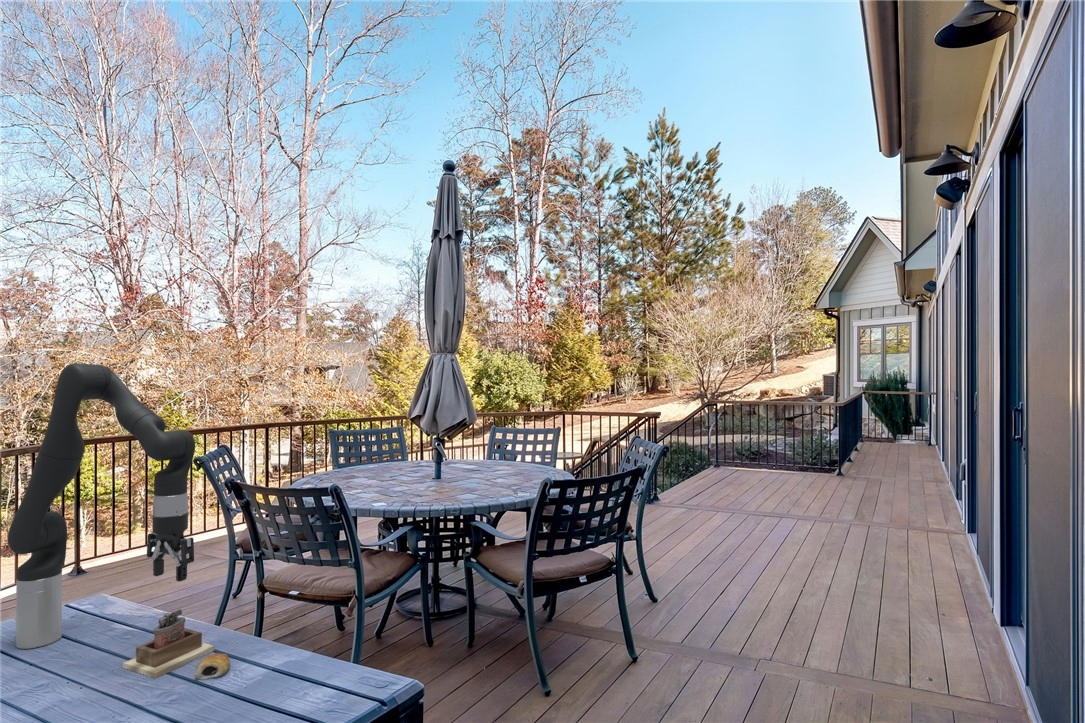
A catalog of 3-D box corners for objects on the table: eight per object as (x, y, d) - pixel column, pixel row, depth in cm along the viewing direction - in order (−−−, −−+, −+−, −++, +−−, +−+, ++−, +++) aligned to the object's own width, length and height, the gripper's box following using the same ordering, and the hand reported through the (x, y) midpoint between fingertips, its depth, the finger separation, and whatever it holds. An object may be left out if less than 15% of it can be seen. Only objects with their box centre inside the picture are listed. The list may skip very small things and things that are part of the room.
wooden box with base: (122, 667, 144) (122, 648, 144) (182, 641, 158) (182, 623, 158) (155, 678, 139) (155, 657, 139) (214, 650, 153) (214, 631, 153)
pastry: (204, 663, 147) (204, 647, 147) (234, 659, 149) (234, 644, 149) (193, 682, 138) (193, 665, 138) (225, 678, 139) (226, 661, 140)
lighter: (160, 662, 144) (160, 620, 144) (149, 661, 145) (149, 619, 145) (188, 647, 152) (189, 607, 152) (178, 646, 153) (178, 606, 153)
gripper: (136, 512, 148) (135, 578, 148) (174, 518, 142) (174, 587, 142) (166, 506, 155) (165, 569, 155) (204, 511, 149) (203, 577, 149)
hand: (169, 577), depth 149 cm, fingers open, 8 cm apart
